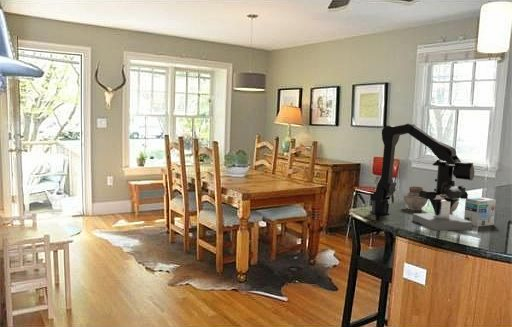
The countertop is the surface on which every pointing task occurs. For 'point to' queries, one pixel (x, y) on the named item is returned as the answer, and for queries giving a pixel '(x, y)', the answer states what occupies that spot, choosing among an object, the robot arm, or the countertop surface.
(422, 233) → the countertop surface
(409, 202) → the pottery
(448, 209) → the beige rectangular block
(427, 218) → the square nut plate
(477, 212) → the light bulb box
